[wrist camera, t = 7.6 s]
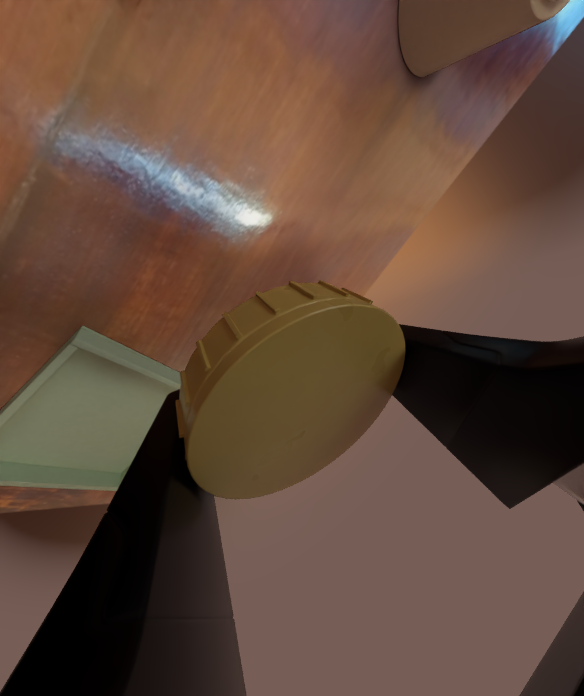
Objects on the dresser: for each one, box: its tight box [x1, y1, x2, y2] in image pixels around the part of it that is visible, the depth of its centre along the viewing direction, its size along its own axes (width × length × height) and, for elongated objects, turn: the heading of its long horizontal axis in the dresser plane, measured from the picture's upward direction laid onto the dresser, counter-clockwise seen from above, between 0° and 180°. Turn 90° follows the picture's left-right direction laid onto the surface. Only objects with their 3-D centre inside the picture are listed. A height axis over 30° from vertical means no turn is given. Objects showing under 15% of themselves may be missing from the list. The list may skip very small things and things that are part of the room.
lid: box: [176, 280, 405, 499], centre depth 7 cm, size 7×7×2 cm
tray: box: [0, 326, 181, 491], centre depth 18 cm, size 13×11×2 cm
